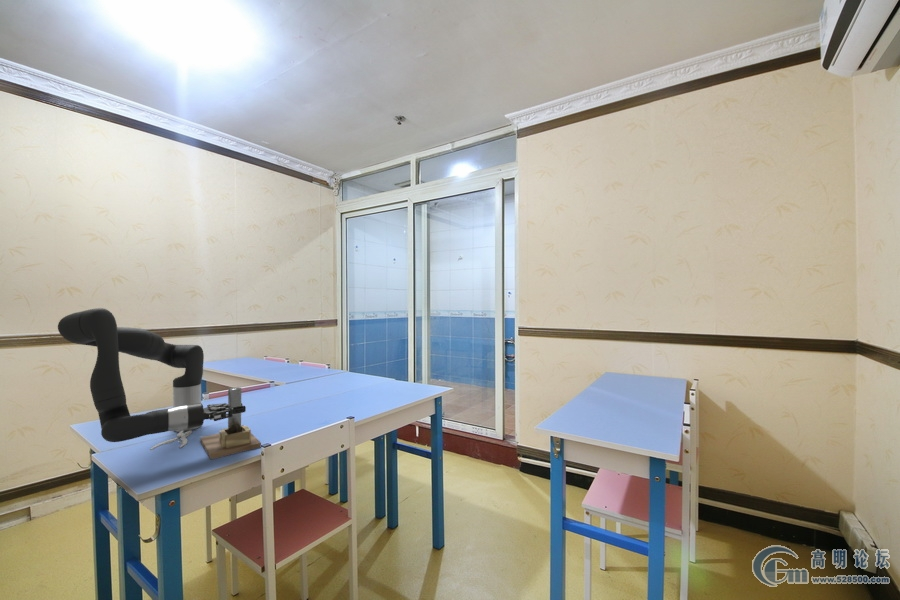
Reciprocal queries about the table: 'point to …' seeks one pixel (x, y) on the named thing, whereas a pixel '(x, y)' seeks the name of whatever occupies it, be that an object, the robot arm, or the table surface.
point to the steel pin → (235, 420)
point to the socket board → (229, 442)
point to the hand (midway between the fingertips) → (243, 407)
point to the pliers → (179, 435)
